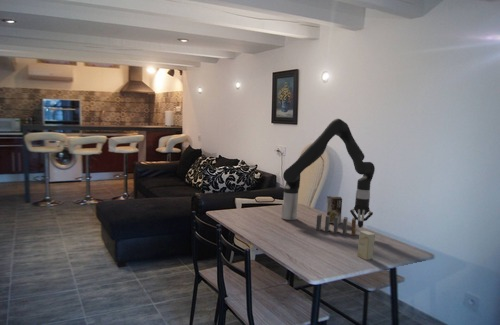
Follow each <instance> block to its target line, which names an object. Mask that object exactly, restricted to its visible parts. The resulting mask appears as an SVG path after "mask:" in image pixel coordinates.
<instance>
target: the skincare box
mask: <svg viewBox="0 0 500 325" xmlns="http://www.w3.org/2000/svg"><path fill="white" fill-rule="evenodd" d="M358 235H359V236H358V246H357V257H360V258H361V259H363V260H366V261H367V260H368V261H369V260H373V257H374V251H375V250H374V249H375V241H376V239H375V238H376V233H374V232H371V231H368V230H360V231H359V234H358Z"/></svg>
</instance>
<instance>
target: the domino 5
mask: <svg viewBox="0 0 500 325" xmlns="http://www.w3.org/2000/svg"><path fill="white" fill-rule="evenodd" d="M356 227H357V220H356V219H355V218H354V217H352V219H351V237H352V236H354V237H355V236H356V233H357V231H356V230H357V229H356Z"/></svg>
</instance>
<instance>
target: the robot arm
mask: <svg viewBox="0 0 500 325" xmlns="http://www.w3.org/2000/svg"><path fill="white" fill-rule="evenodd" d="M334 136H338V137H339V138H340V140H341V141H342V142H343V143H344V145H345V148H346V152H347V153H348V155H349V157H350V158H351V160H352V163H353V166H354V170H355V172H356V173H357V174H358V175H360V176H361V175H362V177H360V178H359V179H357V184H356V191H355V203H354V207H353V208H352V209H350V211H349V212H350V214H351V216H352V218H355V219H356V221H357V226H358V228H361V229H362V228H363V227H364V222H366V221H368V220H369V218H371V217H372V216H373V214H374V213H373V211H371V210H370V199H371V182H372V179H373V178H374V174H375V171H376V170H375V169H376V168H375V164H374V163H373V162H371V161H364V160H365V157H366V156H365V153H363V151H362V149H361V147H360V146H359V144H358V143H357V141H356V140H355V138H354V135H353V134H352V131H351V130H350V127H349V125H348V123H347V122H345V121H344V120H342V119H341V118H335V119H333V120H332V121H331V122H330V123H329V124H328V125H327V126H326V128H325V129H324V130H323V131H322V132H321V134H320V135H319V136H318V137H317V138H316V139H315V140H314V141H313V142H312V143H311V144H310V145H309V146H308V147H307V148H306V149H305V150H304V151H303V152H302V154H300V156H299V158H297V159H296V161H294V162H293V163H292V164H291V165H290V166H288V167H287V168H286V169H285V170H284V172H283V174H282V176H283V180H284V181H285V185H284V187H283V202H282V204H281V219H283V220H286V221H287V220H288V221H296V220H297V219H298V204H299V190H300V186H301V174H302V172H303V171H304V170H305V169H307V168H308V167H310V166H311V165H312V164H314V163H315V162H316V161H318V160H319V158H321V156H323V154H324V153H325V151H326V148H327V146H328V143H329V142H330V141H331V140H332V139H333V138H334ZM356 214H357V215H356ZM366 215H367V216H366ZM365 216H366V217H365Z"/></svg>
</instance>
